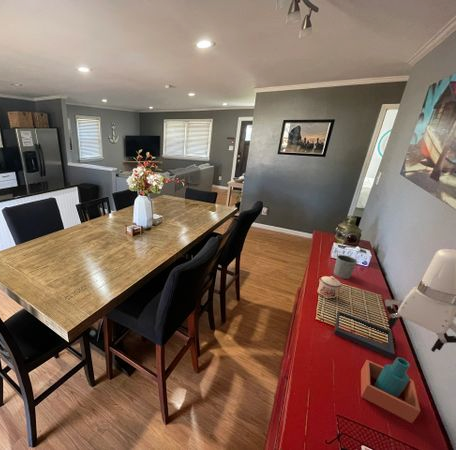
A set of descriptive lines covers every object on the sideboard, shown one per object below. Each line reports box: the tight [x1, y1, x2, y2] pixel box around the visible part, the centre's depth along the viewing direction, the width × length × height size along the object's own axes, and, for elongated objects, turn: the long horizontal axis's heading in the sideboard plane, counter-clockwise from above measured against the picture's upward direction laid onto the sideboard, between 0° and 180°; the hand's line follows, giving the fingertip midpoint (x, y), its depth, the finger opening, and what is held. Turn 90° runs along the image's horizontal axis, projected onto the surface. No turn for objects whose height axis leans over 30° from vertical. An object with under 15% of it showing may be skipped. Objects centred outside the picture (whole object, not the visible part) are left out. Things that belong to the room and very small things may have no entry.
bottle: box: [373, 356, 411, 399], centre depth 80 cm, size 6×6×16 cm
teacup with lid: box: [316, 275, 347, 299], centre depth 131 cm, size 12×9×12 cm
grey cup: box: [333, 254, 358, 280], centre depth 151 cm, size 10×10×12 cm
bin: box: [360, 359, 421, 424], centre depth 82 cm, size 13×13×6 cm
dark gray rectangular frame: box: [333, 310, 396, 359], centre depth 107 cm, size 20×16×3 cm
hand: (411, 337), depth 73 cm, fingers open, 9 cm apart
